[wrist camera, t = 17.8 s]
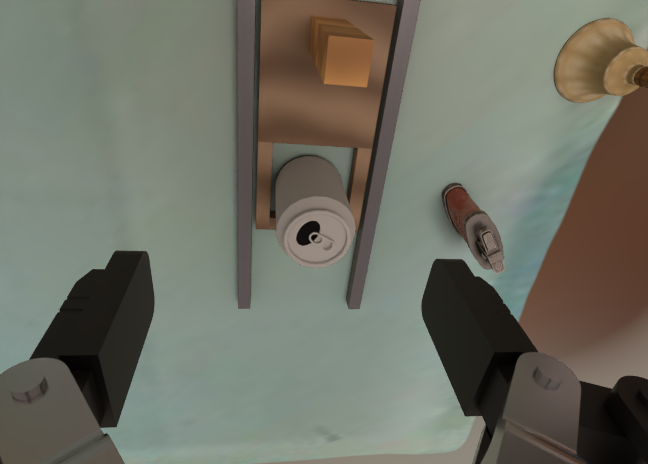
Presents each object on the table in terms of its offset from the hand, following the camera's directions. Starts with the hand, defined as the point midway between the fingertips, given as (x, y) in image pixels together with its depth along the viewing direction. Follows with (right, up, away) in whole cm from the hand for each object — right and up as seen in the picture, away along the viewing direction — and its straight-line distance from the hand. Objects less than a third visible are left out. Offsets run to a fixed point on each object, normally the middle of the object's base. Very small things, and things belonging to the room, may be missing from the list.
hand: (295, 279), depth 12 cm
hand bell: (+29, +19, +32) cm, 48 cm away
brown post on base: (0, +12, +33) cm, 35 cm away
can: (-1, +7, +36) cm, 37 cm away
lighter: (+18, +4, +41) cm, 44 cm away
